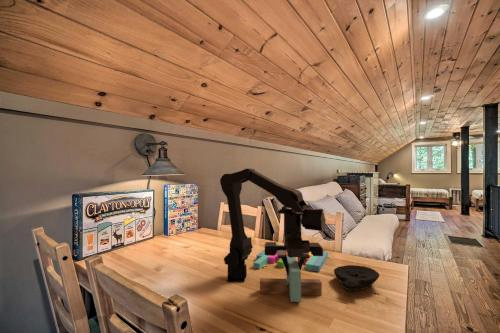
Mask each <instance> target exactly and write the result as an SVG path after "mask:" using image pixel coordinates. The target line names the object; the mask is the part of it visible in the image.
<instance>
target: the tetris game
mask: <svg viewBox="0 0 500 333" xmlns="http://www.w3.org/2000/svg"><path fill="white" fill-rule="evenodd" d="M276 245H278V244H277V243H276ZM281 245H282V246H284V244H281ZM286 255H287V252H286ZM287 256H288V255H287ZM309 256H310V258H307V259H306V260H305V261H304V263H303V265H305V270H307V271H312V272H319V273H320V271H321V270H322V268H323V267H324V264H325V263H326V261H327V260H328V257H329V251H326V250H323V256H313V255H312V254H311V252H309ZM295 258H296V260H297V262H298V257H295ZM269 263H270V264H275V263H276V264H277V266H276V267H277V268H279V269H280V268H281V269H285V266H284V263H283V261H282V259H281V258H278V256H277V253H276V254H275V255H274V256H271V255H265V249H263V250H262V251H261V252H259V253H258V254H257V255H256V259H255V261H254V262H253V269H257V270H260V269H262V268H264V266H265V265H267V264H269Z"/></svg>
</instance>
